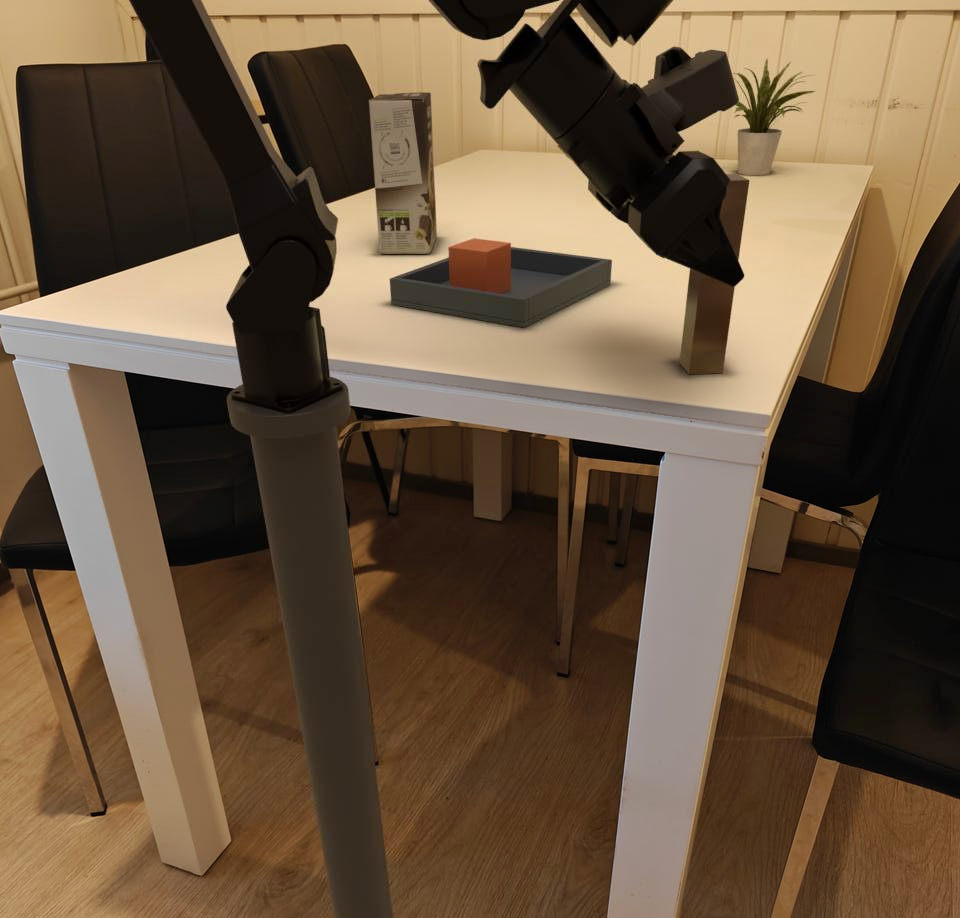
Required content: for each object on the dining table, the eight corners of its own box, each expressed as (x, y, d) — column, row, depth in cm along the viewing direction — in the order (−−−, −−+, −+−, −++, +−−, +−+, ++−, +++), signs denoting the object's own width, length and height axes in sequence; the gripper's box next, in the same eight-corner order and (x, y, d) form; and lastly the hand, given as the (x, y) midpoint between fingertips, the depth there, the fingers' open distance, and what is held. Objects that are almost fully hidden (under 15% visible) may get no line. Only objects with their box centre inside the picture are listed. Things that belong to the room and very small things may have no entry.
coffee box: (431, 254, 108) (424, 97, 99) (378, 255, 109) (366, 98, 99) (438, 238, 116) (432, 90, 106) (388, 238, 116) (378, 91, 107)
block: (487, 300, 90) (486, 251, 87) (449, 294, 92) (448, 246, 89) (511, 289, 93) (511, 242, 90) (474, 284, 95) (473, 238, 92)
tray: (524, 327, 84) (524, 299, 82) (391, 304, 91) (389, 278, 89) (610, 284, 96) (612, 259, 94) (487, 267, 103) (486, 243, 101)
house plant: (758, 184, 144) (776, 62, 134) (691, 174, 153) (703, 59, 143) (812, 173, 151) (833, 57, 141) (745, 164, 160) (761, 54, 150)
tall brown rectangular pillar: (688, 374, 73) (711, 181, 65) (679, 363, 75) (700, 175, 67) (723, 372, 73) (749, 179, 65) (712, 361, 75) (737, 173, 67)
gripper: (716, 1, 52) (861, 204, 59) (638, 0, 67) (761, 162, 74) (575, 161, 56) (726, 333, 63) (531, 126, 71) (657, 268, 78)
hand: (719, 266), depth 69 cm, fingers open, 9 cm apart
